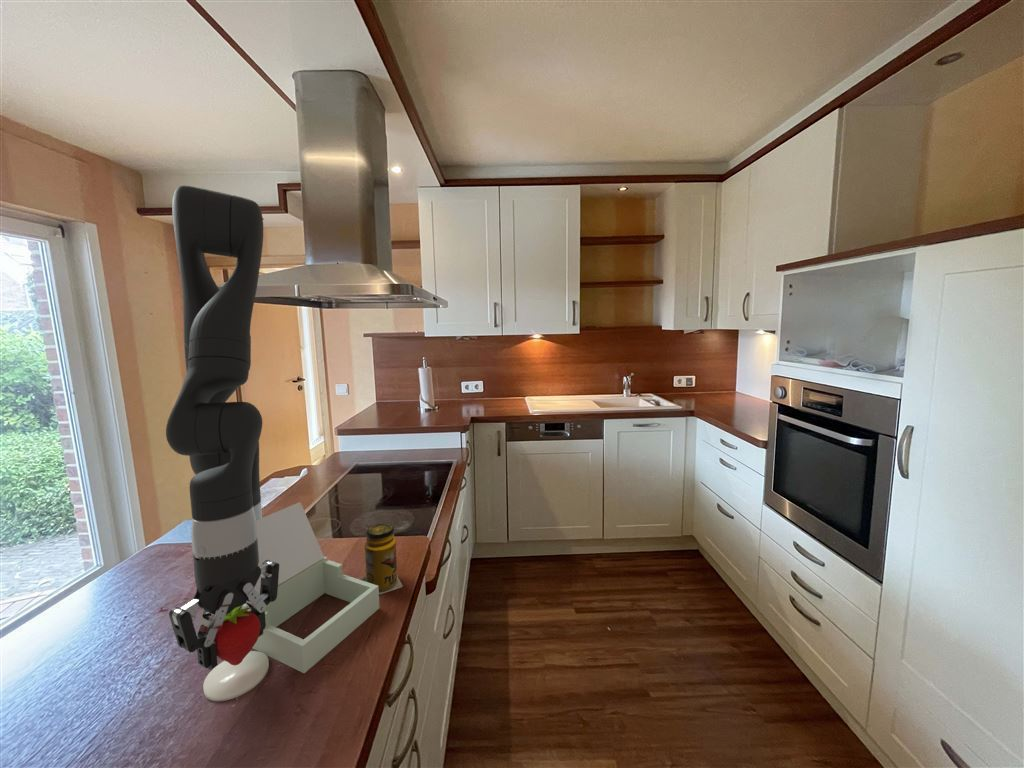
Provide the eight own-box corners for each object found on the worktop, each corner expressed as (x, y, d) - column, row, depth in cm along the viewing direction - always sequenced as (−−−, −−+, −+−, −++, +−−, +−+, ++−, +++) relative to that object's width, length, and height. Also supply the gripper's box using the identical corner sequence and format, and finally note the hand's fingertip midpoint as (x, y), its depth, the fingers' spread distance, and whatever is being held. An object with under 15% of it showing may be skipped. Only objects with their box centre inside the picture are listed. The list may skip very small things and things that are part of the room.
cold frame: (222, 633, 68) (214, 535, 66) (304, 581, 82) (300, 500, 80) (304, 673, 60) (297, 563, 58) (379, 608, 74) (376, 518, 72)
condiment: (403, 587, 81) (401, 531, 80) (360, 602, 76) (357, 542, 75) (392, 569, 87) (391, 517, 86) (351, 582, 82) (349, 527, 81)
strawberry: (239, 686, 55) (234, 619, 54) (195, 676, 57) (190, 610, 56) (273, 654, 61) (269, 592, 60) (233, 645, 62) (228, 585, 61)
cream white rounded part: (191, 688, 57) (190, 683, 57) (247, 649, 64) (247, 644, 64) (225, 709, 54) (225, 704, 54) (280, 666, 61) (280, 661, 61)
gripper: (258, 516, 65) (264, 612, 66) (149, 560, 52) (161, 678, 53) (290, 524, 62) (296, 625, 63) (183, 574, 49) (194, 699, 50)
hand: (234, 649), depth 58 cm, fingers closed on strawberry, 6 cm apart
